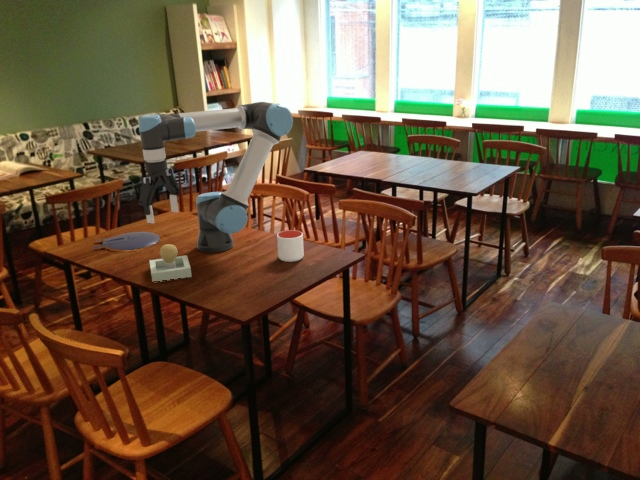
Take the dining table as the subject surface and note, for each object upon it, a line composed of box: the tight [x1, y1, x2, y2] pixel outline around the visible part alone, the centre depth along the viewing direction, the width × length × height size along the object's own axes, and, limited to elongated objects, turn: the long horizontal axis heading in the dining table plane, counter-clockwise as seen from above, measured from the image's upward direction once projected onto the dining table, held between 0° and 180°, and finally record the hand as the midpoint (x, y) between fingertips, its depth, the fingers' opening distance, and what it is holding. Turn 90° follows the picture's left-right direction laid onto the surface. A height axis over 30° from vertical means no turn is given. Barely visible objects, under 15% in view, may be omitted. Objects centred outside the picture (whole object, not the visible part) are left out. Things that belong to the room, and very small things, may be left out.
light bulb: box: [159, 243, 178, 270], centre depth 218 cm, size 6×6×10 cm
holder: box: [149, 255, 193, 282], centre depth 219 cm, size 14×14×4 cm
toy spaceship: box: [91, 231, 161, 250], centre depth 253 cm, size 28×24×3 cm
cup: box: [276, 229, 305, 263], centre depth 228 cm, size 10×10×10 cm
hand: (163, 217), depth 214 cm, fingers open, 13 cm apart
